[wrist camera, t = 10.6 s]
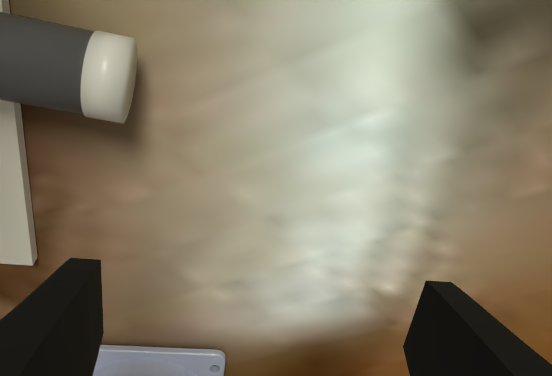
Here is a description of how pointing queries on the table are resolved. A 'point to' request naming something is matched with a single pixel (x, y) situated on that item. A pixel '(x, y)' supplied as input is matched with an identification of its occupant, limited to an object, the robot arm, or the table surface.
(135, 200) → the table surface
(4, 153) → the notepad
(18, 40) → the cylinder
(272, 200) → the table surface
